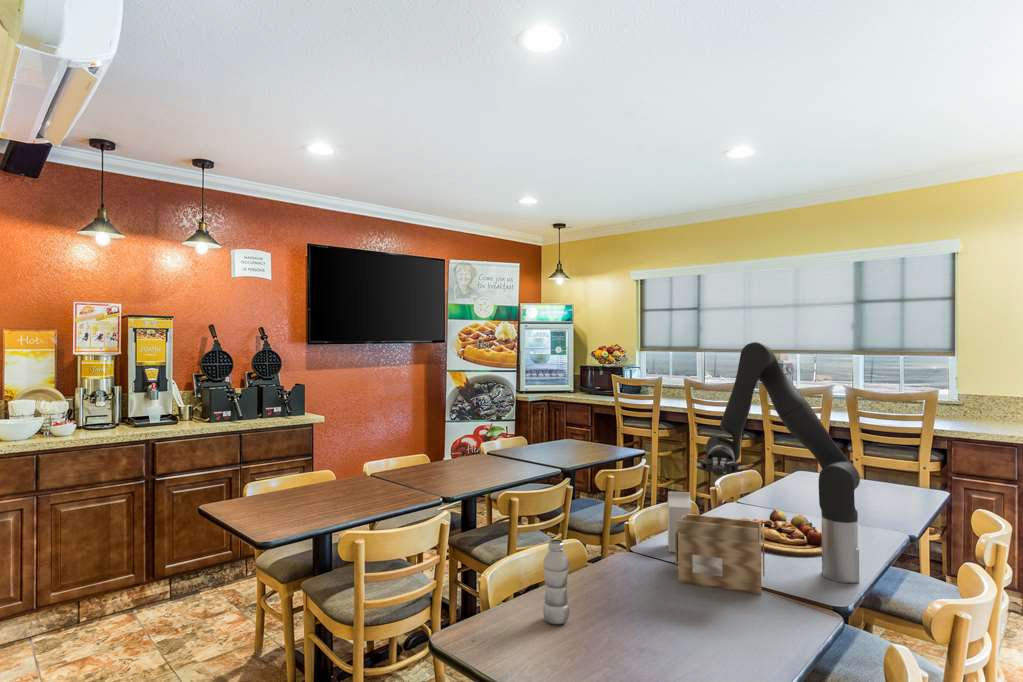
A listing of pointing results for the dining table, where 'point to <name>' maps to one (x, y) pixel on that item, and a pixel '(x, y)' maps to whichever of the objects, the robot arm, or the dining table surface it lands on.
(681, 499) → the milk carton
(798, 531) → the wooden plate with food
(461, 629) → the dining table surface
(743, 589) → the light wooden open box
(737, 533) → the front flap
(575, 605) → the dining table surface
